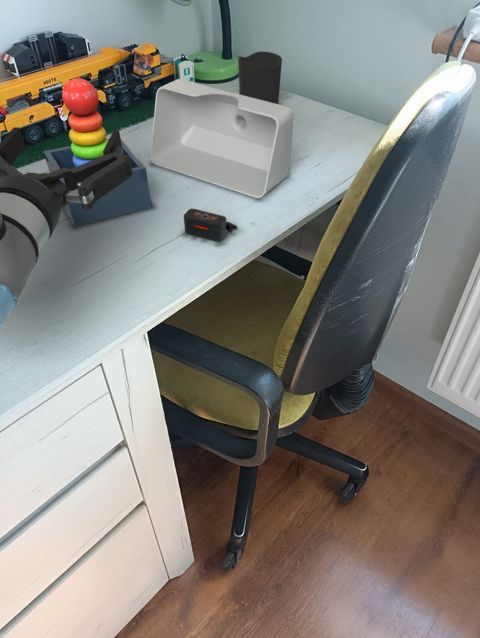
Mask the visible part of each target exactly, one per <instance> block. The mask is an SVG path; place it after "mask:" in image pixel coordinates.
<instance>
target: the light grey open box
mask: <svg viewBox="0 0 480 638" xmlns="http://www.w3.org/2000/svg"><path fill="white" fill-rule="evenodd" d="M155 93H156V94H155V100H154V101H155V102H154V103H155V104H154V111H153V123H152V133H151V142H150V143H151V145H150V153H149V154H150V160H151V162H152V163H153V164H154V165H155V166H158V167H161V168H164V169H167V170H171V171H173V172H177V173H180V174H182V175H185V176H188V177H192V178H195V179H197V180H201V181H203V182H207V183H209V184H213V185H215V186H218V187H222V188H224V189H227V190H231V191H233V192H237V193H239V194H243V195H246V196H249V197H251V198H255V199H261V198H263V197H265V195H266V194H268V193H269V192H270V191H271V190H272V189H273V188H275V187H276V186H277V185H278V184H279V183H280V182H282V181H283V180H285V178H287V177H288V176H289V175H290V172H291V160H292V159H291V157H292V145H293V143H292V142H293V130H294V113H293V111H292V109H291V108H290V107H288V106H286V105H282V104H279V103H278V104H275V103H271V102H267V101H263V100H259V99H255V98H251V97H247V96H243V95H240V93H235V92H232V91H227V90H225V89H224V90H223V89H220V88H216V87H211V86H208V85H204V84H199V83H196V82H192V81H188V80H184V79H180V78H177V79H175V80H173V81H171V82H169V83H167V84H164V85H162V86H160V87H159V88H158V89H157V91H156V92H155Z"/></svg>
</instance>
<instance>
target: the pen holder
mask: <svg viewBox="0 0 480 638" xmlns="http://www.w3.org/2000/svg"><path fill="white" fill-rule="evenodd" d="M237 59H238V60H237V64H238V65H237V67H238V89H239V90H238V92H239V93H238V94H239V95H243V96H247V97H251V98H255V99H259V100H263V101H267V102H271V103H275V104H279V100H280V91H281V90H280V89H281V88H280V87H281V76H282V74H281V73H282V63H283V58H282V56H281V55H279V54H278V53H274V52H271V51H261V50H260V51H256V52H254V53H251V54H250V55H247V56H238V57H237Z"/></svg>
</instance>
